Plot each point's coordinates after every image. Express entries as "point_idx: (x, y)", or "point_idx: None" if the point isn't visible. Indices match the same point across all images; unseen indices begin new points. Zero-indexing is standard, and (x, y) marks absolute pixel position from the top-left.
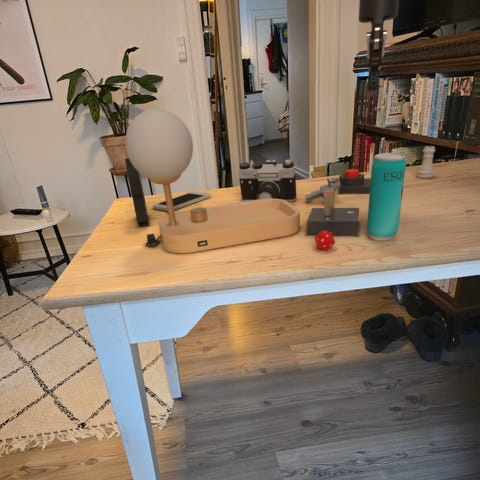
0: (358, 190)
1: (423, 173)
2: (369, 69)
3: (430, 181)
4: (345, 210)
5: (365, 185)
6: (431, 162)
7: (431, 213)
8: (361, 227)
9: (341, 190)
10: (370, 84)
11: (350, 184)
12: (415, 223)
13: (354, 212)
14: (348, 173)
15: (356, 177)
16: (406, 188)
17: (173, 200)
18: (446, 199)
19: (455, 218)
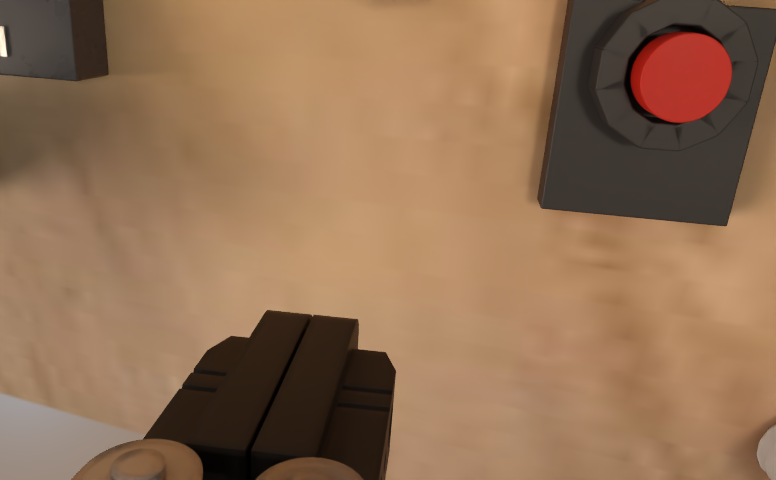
0: (553, 105)
1: (773, 443)
2: (102, 471)
3: (695, 444)
4: (30, 18)
5: (573, 145)
6: None
7: (218, 342)
8: (41, 83)
9: (568, 10)
10: (202, 365)
11: (592, 63)
12: (106, 272)
13: (8, 56)
14: (648, 53)
15: (619, 101)
16: (593, 329)
17: None
18: (391, 427)
19: (166, 395)
